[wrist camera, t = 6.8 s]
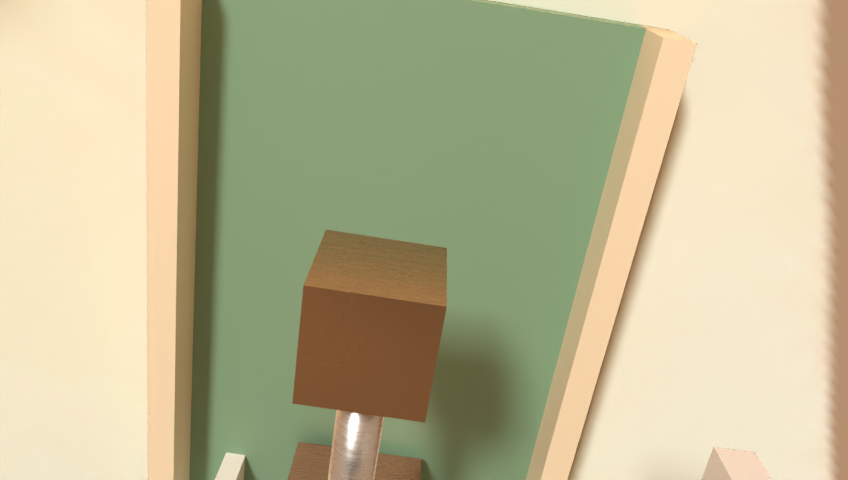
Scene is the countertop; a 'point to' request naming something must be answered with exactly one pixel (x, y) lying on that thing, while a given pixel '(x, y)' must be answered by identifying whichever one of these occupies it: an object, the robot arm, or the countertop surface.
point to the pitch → (393, 214)
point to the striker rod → (367, 350)
